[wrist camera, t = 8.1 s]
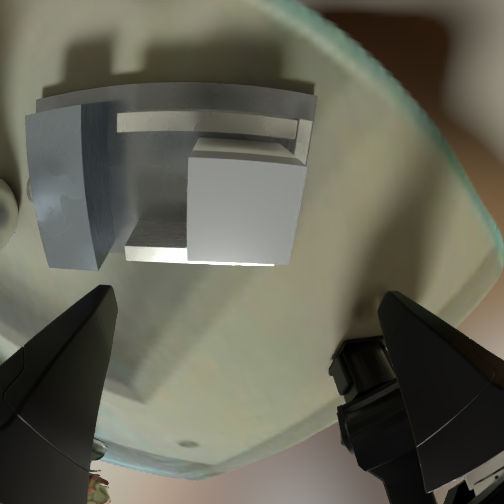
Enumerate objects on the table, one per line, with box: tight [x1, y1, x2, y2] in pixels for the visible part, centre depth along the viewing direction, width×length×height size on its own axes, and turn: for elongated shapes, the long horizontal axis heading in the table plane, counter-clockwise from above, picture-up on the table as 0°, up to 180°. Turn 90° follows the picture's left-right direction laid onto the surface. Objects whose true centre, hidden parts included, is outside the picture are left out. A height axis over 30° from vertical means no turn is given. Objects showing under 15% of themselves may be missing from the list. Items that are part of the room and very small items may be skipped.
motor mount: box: [25, 82, 317, 271], centre depth 15 cm, size 19×12×5 cm, turn 84°
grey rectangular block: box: [187, 137, 307, 265], centre depth 15 cm, size 5×5×6 cm
